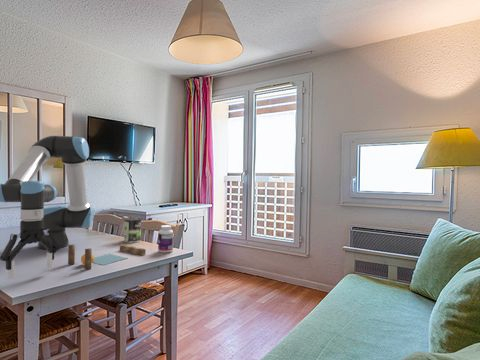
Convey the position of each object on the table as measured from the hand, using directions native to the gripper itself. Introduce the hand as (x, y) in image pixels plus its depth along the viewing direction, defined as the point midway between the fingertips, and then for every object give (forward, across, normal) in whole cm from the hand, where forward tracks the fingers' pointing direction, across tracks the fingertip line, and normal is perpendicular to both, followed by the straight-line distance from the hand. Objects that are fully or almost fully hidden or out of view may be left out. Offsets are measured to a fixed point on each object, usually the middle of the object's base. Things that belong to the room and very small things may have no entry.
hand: (31, 272), depth 117 cm
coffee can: (+3, +69, +22) cm, 72 cm away
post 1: (+3, +20, +6) cm, 21 cm away
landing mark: (+3, +34, 0) cm, 34 cm away
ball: (0, +24, 0) cm, 24 cm away
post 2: (+3, +20, -6) cm, 21 cm away
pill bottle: (+3, +62, -13) cm, 63 cm away
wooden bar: (+3, +50, 0) cm, 50 cm away
